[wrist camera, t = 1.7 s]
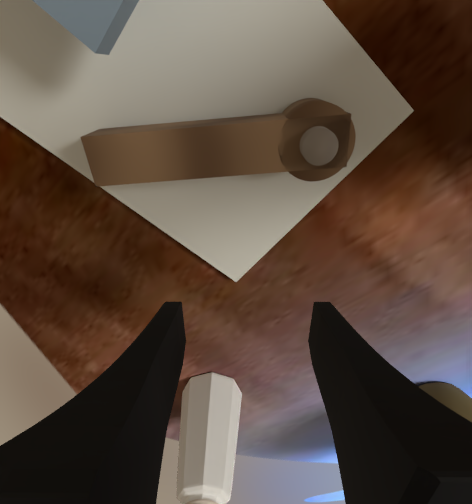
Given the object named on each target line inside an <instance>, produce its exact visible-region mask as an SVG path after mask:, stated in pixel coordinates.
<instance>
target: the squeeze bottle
mask: <svg viewBox="0 0 472 504" xmlns="http://www.w3.org/2000/svg"><path fill="white" fill-rule="evenodd" d="M418 387H419V388H421V389H422V390H423V391H425V392H426V393H428V394H429V395H431V396H432V397H433V398H435V399H436V400H438V401H439V402H440V403H442V404H444V405H445V406H447V407H448V408H450V409H451V410H453V411H454V412H456V413H457V414H459V415H461V416H462V417H464V418H466V419H467V420H469V421H470V422H472V398H470V397H469V396H468V395H467V394H465V393H464V392H463V391H462V390H460V389H459V388H457V387H455V386H454V385H452V384H448V383H442V382H436V383H427V384H423V385H420V386H418Z"/></svg>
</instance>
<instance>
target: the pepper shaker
mask: <svg viewBox="0 0 472 504" xmlns="http://www.w3.org/2000/svg"><path fill="white" fill-rule="evenodd" d="M241 399H242V393H241V391H240V389H239V388H238V386H237V384H236V382H235V381H234V379H233V378H230V377H227V376H224V375H220V374H217V373H214V372H210V373H206V374H202V375H198V376H195V377H191V378H190V379H189V381H188V383H187V385H186V387H185V388H184V390H183V392H182V406H181V423H180V440H179V457H178V474H177V499H178V500H179V501H180V502H181V503H182V504H226V503H227V502H228V501H229V500H230V498H231V491H232V483H233V474H234V465H235V455H236V446H237V436H238V427H239V417H240V408H241Z"/></svg>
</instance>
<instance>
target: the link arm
mask: <svg viewBox="0 0 472 504" xmlns="http://www.w3.org/2000/svg"><path fill="white" fill-rule="evenodd" d="M80 138H81V141H82V144H83V147H84V151H85V154H86V157H87V160H88V163H89V167H90V170H91V173H92V176H93V180H94V183H95V186H96V187H99V186H111V185H124V184H137V183H150V182H162V181H175V180H188V179H201V178H213V177H226V176H239V175H252V174H264V173H277V172H289V173H290V174H291V175H293V176H294V177H296V178H298V179H300V180H304V181H310V182H312V181H321V180H325V179H327V178H330V177H331V176H333V175H335V174H336V173H338V172H339V171H340V170H341V169H342V168H343V167H347V162H348V161H349V159H350V157H351V155H352V153H353V150H354V146H355V139H356V134H355V128H354V124H353V122H352V120H351V113H348V112H346V111H344V110H343V109H342V108H340V107H339V106H337V105H335V104H332V103H329V102H327V101H324V100H321V99H317V98H305V99H301V100H298V101H296V102H294V103H292V104H291V105H289V106H288V107H287V108H286V109H285V110H284V111H283V112H282V113H276V114H265V115H253V116H242V117H230V118H219V119H207V120H196V121H184V122H173V123H161V124H150V125H138V126H127V127H115V128H104V129H98V130H96V131H93V132H91V133H89V134H86V135H84V136H82V137H80Z"/></svg>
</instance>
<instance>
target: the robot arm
mask: <svg viewBox="0 0 472 504" xmlns="http://www.w3.org/2000/svg"><path fill="white" fill-rule="evenodd" d="M308 342H309V348H310V354H311V360H312V365H313V369H314V372H315V375H316V379H317V382H318V385H319V389H320V392H321V395H322V399H323V402H324V405H325V408H326V412H327V415H328V418H329V422H330V426H331V430H332V434H333V438H334V443H335V448H336V453H337V458H338V463H339V468H340V474H341V479H342V484H343V490H344V496H345V502H346V504H472V422H470V421H469V420H467V419H466V418H464V417H462V416H461V415H459V414H457V413H456V412H454V411H453V410H451V409H450V408H448V407H447V406H445V405H444V404H442V403H440V402H439V401H438V400H436V399H435V398H433V397H432V396H431V395H429V394H428V393H426V392H425V391H423V390H422V389H421V388H419V387H418V386H417V385H415V384H414V383H413V382H411V381H410V380H409V379H408V378H406V377H405V376H404V375H403V374H401V373H400V372H399V371H398V370H396V369H395V368H394V367H393V366H392V365H390V364H389V363H388V362H387V361H386V360H385V359H384V358H383V357H382V356H380V355H379V354H378V353H377V352H376V351H375V350H374V349H373V348H372V347H371V346H370V345H369V344H368V343H367V342H366V341H365V340H364V339H363V338H362V337H361V336H360V335H359V334H358V333H357V332H356V331H355V329H354V328H353V327H352V326H351V325H350V324H349V323H348V322H347V321H346V320H345V318H344V317H343V316H342V315H341V314H340V313H339V312H338V310H337V309H336V308H335V307H334V306H333V305H332V304H331V303H330V302H314V306H313V313H312V319H311V326H310V333H309V339H308ZM185 343H186V338H185V329H184V320H183V311H182V302H165V303H164V304H163V305H162V307H161V308H160V309H159V311H158V312H157V313H156V315H155V316H154V317H153V319H152V320H151V321H150V323H149V324H148V325H147V326H146V328H145V329H144V330H143V331H142V332H141V334H140V335H139V336H138V337H137V338H136V339H135V341H134V342H133V343H132V344H131V345H130V346H129V347H128V348H127V349H126V350H125V352H124V353H123V354H122V355H121V356H120V357H119V358H118V359H117V360H116V361H115V362H114V363H113V364H112V365H111V366H110V367H109V368H108V369H107V370H106V371H104V372H103V373H102V374H101V375H100V376H99V377H98V378H97V379H96V380H94V381H93V382H92V383H91V384H90V385H88V386H87V387H86V388H85V389H84V390H82V391H81V392H80V393H79V394H77V395H76V396H75V397H74V398H73V399H71V400H70V401H68V402H67V403H66V404H65V405H63V406H62V407H60V408H59V409H57V410H56V411H55V412H53V413H52V414H50V415H49V416H47V417H46V418H44V419H43V420H41V421H40V422H38V423H37V424H35V425H34V426H32V427H31V428H29V429H27V430H26V431H24V432H22V433H21V434H19V435H17V436H16V437H14V438H13V439H11V440H9V441H8V442H6V443H4V444H3V445H1V446H0V504H156V498H157V491H158V484H159V477H160V470H161V463H162V456H163V449H164V443H165V437H166V431H167V426H168V422H169V417H170V413H171V409H172V405H173V402H174V398H175V394H176V390H177V386H178V382H179V378H180V374H181V370H182V365H183V359H184V351H185Z"/></svg>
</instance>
